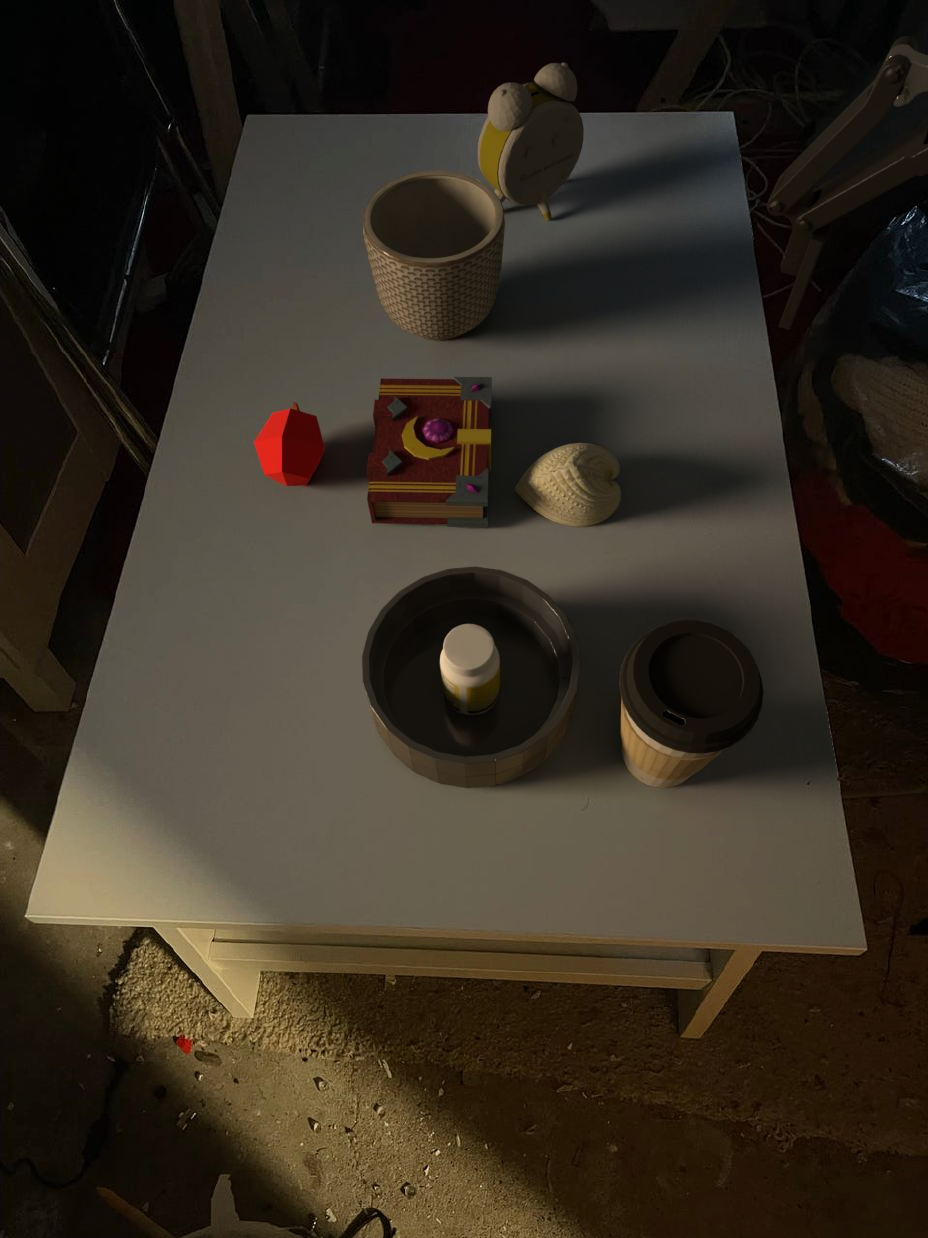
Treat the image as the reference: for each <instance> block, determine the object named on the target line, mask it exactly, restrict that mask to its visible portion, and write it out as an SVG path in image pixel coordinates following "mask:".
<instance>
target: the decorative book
mask: <svg viewBox="0 0 928 1238" xmlns="http://www.w3.org/2000/svg"><path fill="white" fill-rule="evenodd" d="M492 379H493V377H492V376H453V378H385V377H384V378H380V381H379V390H378V392H379V393H378V399H374V401H373V402H374V403H373V412H372V418H373V425H374V434H373V443H372V452H370V453H368V455H367V463H366V476H367V480H368V486H367V487H368V488H367V498H366V500H367V506H368V510H369V515H370V520H371V524H388V525H390V524H395V525H397V524H398V525H444V526H445V525H446V526H447V527H448V528H474V529H475V528H477V529H478V528H479V529H482V528H483V529H487V528H488V527H489V495H490V494H489V493H490V492H489V491H490V490H489V477H490V475H489V474H490V473H491V472H492V407H493V405H492V404H493V401H492V388H493V387H492V383H493V381H492ZM489 472H490V473H489Z"/></svg>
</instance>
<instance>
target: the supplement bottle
mask: <svg viewBox="0 0 928 1238" xmlns="http://www.w3.org/2000/svg"><path fill="white" fill-rule="evenodd" d="M440 668H441V675H442V682H443V689H444V695H445V698H446V701H447V702H448V704H449V705H450V706H451V707H452V708H453V709H454V710H455V711H457V712H459V713H462V714H465V715H478V714H482V713H484V712H486V711H488V710H489V709H490V708H492V707H493V705H494V704H495V703H496V701H497V699H498V696H499V692H500V657H499V653H498V650H497V648H496V646H495V644H494V640H493V638H492V636H491V634H490V633H489V632H488V631H487V630H486V629H485V628H483V627H481V626H479V625H475V624H463V625H460V626H457V627H455V628H454V629H452V630H451V631H450V632H449V633H448V635H447V636H446V638H445V640H444V644H443V650H442V652H441V656H440Z"/></svg>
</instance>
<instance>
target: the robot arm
mask: <svg viewBox="0 0 928 1238" xmlns="http://www.w3.org/2000/svg"><path fill="white" fill-rule="evenodd" d="M918 49H919V45H918V41H917V39H916V38H915V37H913V36H911V35H904V36H900V37H898V38H897V39H895V41H893V44H892V45H891V47H890V49H889V51H888V53H887V55H886V57H885V59H884V61H883V63H882V65H881V66H880V69H879V71H878V73H877V75H876V76H875V78H874V80H873V81H871V82H870V83H869V84H868V85H867V87H865V89H863V91H862V92H860V94H858V96H857V97H856V98H855V99H854V100H853V101H852V102H851V103H850V104H849V105H848V106H847V107H846V108H845V109H844V110H843V111H842V112H841V113H840V114H839V115H838V116H836V118H835V119H834V120H833V121H832V122H831V123H830V124H829V125H828V126H827V127H826V128H825V129H824V130H823V131H822V132H821V133H820V134H819V135H818V136H817V137H816V138H815V140H813V141H812V142H811V143H810V144H809V145H808V146H807V147H806V149H804V151H802V152H801V154H799V156H797V158H796V159H795V160H794V161H793V162H792V163H790V165H789V166H787V168H786V169H784V171H782V172H781V174H780V175H779V177H778V179H777V181H776V183H775V185H774V187H773V189H772V191H771V193H770V196H769V198H768V200H767V202H766V211H767V212H768V213H769V214H770V215H771V216H773V217H781V216H783V217H785V218H786V219H787V220H789V222H790V224H791V226H792V230H791V233H790V236H789V239H788V242H787V245H786V248H785V251H784V253H783V256H782V259H781V262H780V273H782V274H784V275H788V276H791V277H796V278H795V280H794V283H793V285H792V289H791V290H790V291H791V292H790V294H789V297H788V300H787V302H786V304H785V307H784V310H783V312H782V316H781V319H780V321H779V324H778V328H781V329H784V330H788V331H791V329H792V326H793V324H794V322H795V319H796V317H797V314H798V312H799V310H800V307H801V304H802V302H803V299H804V297H805V294H806V293H807V290H808V286H809V284H810V281H811V279H812V276H813V274H814V271H815V268H816V265H817V263H818V260H819V259H820V255H821V253H822V250H823V247H824V246H825V243H826V240H827V238H828V235H829V232H830V230H831V227H832V224H833V222H834V221H836V220H837V219H840V218H842V217H843V216H845V215H847V214H848V213H850V212H853V211H854V210H856V209H858V208H859V207H862V206H863V205H865V204H867V203H869V202H870V201H873V200H874V199H876V198H878V197H879V196H882V195H883V194H886V193H887V192H889V191H890V190H893V189H894V188H896V187H898V186H900V185H902V184H903V183H905V182H907V181H909V180H911V179H913V178H914V177H916V176H919V177H924V176H926V175H928V117H926V118H925V119H924V120H923V121H921V122H920V123H919V125H918V126H917V127H916V128H915V129H913V130H911V131H909V132H907V134H905V135H903V136H902V137H900V138H898V139H896V140H895V141H893V142H891V143H890V144H888V145H886V146H885V147H882V148H881V149H879V150H878V151H876V152H874V153H873V154H871V155H869V156H868V157H866V158H864V159H861V160H860V161H859V162H857V163H856V164H854V165H853V166H851V167H849V168H847V169H845V170H843V171H842V172H840V173H838V174H837V175H835V176H833V177H831V178H830V179H828V180H827V181H824V182H823V183H822V184H820V185H818V186H817V187H815V186H816V185H817V184H818V183H819V182H820V181H821V180H822V179H823V178H824V177H826V175H827V174H829V172H831V171H832V169H834V167H836V165H838V164H839V163H840V162H841V161H842V160H843V159H844V158H845V157H846V156H847V155H848V154H849V153H850V152H851V151H852V150H853V149H855V148H856V146H858V144H860V143H861V142H862V141H863V140H864V139H865V138H866V137H867V136H868V135H869V134H870V133H871V132H872V131H873V130H874V129H876V127H877V126H878V125H879V124H880V123H881V122H882V121H883V119H884V118H885V117H886V116H887V114H888V113H889V111H890V110H891V108H892V106H893V107H894V108H901V107H903V106H905V105H908V104H909V103H911V102H912V101H913V100H914V99H915V98H916V97H917V96H919V95H920V94H923V93H928V54H926V53H922V52H920V51H918Z"/></svg>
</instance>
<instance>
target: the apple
mask: <svg viewBox="0 0 928 1238" xmlns="http://www.w3.org/2000/svg"><path fill="white" fill-rule="evenodd" d="M291 405H292V408H290V407H289V408H286V409H283V410H282V409H281V410H277V411H274V412H272V413H271V415H270V417H269V418H268V420H267V421H266V423H264V426H263V427H262V429H261V431H259V433H258V435H257V437H256V438H255V440H254V441H253V445H254V448H255V451H256V454H257V456H258V459H259V462H260V466H261V469H262V472H263V475H264V476H265V477H267V478H270V479H271V480H273V481H275V482H276V483H279V484H281V485H283V486H286V487H298V486H299V487H302V486H303V487H304V486H307V485H308V483H309V482H310V480H311V478H312V477H313V475H314V474H315V472H316V470H317V468H318V467H319V465H320V463H321V461H322V459H323V455H324V452H325V450H326V446H325V443H324V439H323V436H322V432H321V428H320V424H319V420H318V416H317V415H314V414H312V413H308V412H305V411H301V410H300V407H299V405H298V402H296V401H293V402H292V404H291Z"/></svg>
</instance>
